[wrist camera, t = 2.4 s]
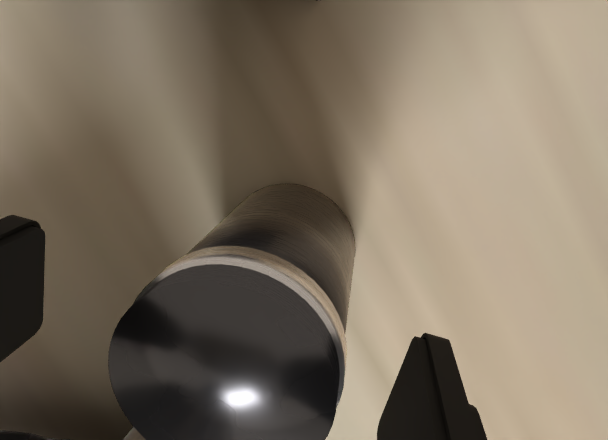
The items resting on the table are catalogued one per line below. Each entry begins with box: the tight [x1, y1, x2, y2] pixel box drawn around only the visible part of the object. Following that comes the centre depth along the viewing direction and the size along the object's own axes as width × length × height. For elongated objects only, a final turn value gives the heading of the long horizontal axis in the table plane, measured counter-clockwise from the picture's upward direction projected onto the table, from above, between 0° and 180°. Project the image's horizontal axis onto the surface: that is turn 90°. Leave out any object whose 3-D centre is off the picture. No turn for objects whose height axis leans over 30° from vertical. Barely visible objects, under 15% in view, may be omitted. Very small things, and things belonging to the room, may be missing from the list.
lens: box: [108, 184, 355, 440], centre depth 13 cm, size 5×5×8 cm
